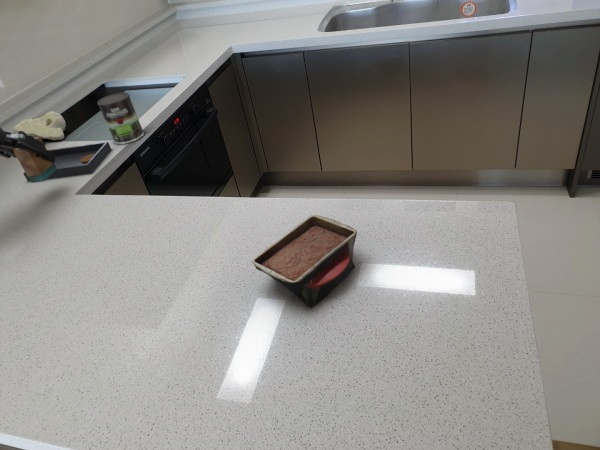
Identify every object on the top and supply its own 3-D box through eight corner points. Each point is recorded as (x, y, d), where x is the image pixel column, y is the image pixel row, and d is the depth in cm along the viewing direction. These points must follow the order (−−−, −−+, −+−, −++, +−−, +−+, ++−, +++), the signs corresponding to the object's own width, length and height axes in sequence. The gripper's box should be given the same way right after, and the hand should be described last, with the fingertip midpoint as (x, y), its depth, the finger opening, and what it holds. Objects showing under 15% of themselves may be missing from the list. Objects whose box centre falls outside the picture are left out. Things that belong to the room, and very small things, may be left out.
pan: (27, 181, 142) (22, 173, 141) (52, 157, 155) (48, 149, 153) (91, 173, 139) (87, 164, 137) (111, 149, 152) (108, 141, 150)
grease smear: (79, 165, 144) (77, 162, 143) (86, 157, 148) (85, 154, 147) (93, 163, 143) (92, 160, 143) (100, 155, 147) (99, 152, 147)
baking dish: (258, 287, 89) (241, 253, 82) (323, 231, 95) (312, 195, 88) (308, 328, 79) (294, 295, 73) (376, 263, 86) (369, 227, 79)
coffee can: (144, 139, 154) (128, 98, 146) (113, 147, 153) (95, 107, 145) (144, 128, 163) (129, 89, 154) (115, 136, 161) (98, 97, 153)
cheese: (80, 135, 173) (54, 108, 175) (72, 127, 166) (45, 99, 168) (47, 162, 170) (21, 134, 172) (38, 155, 163) (10, 126, 164)
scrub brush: (31, 182, 126) (12, 150, 120) (44, 170, 131) (26, 138, 126) (44, 181, 125) (25, 148, 119) (57, 168, 131) (39, 136, 125)
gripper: (-58, 150, 107) (18, 175, 130) (7, 140, 105) (73, 168, 128) (-56, 119, 109) (19, 150, 131) (8, 109, 106) (73, 142, 129)
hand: (45, 158), depth 129 cm, fingers closed on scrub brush, 4 cm apart
